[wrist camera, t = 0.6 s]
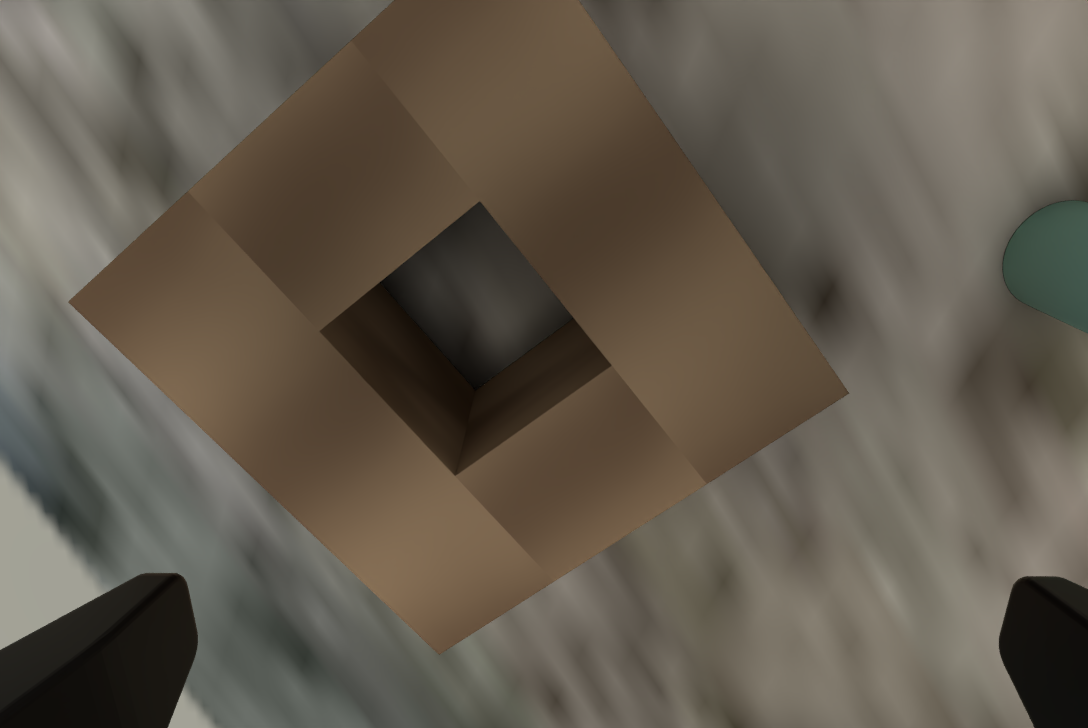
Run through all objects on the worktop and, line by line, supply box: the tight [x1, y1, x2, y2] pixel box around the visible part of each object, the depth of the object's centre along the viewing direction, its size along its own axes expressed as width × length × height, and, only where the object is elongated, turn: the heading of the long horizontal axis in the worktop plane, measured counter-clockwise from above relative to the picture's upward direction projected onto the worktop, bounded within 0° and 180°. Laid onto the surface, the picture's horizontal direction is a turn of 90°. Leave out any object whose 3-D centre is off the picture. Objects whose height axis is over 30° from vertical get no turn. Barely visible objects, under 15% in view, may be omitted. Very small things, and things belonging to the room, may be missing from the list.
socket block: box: [69, 0, 849, 654], centre depth 18 cm, size 12×12×5 cm
